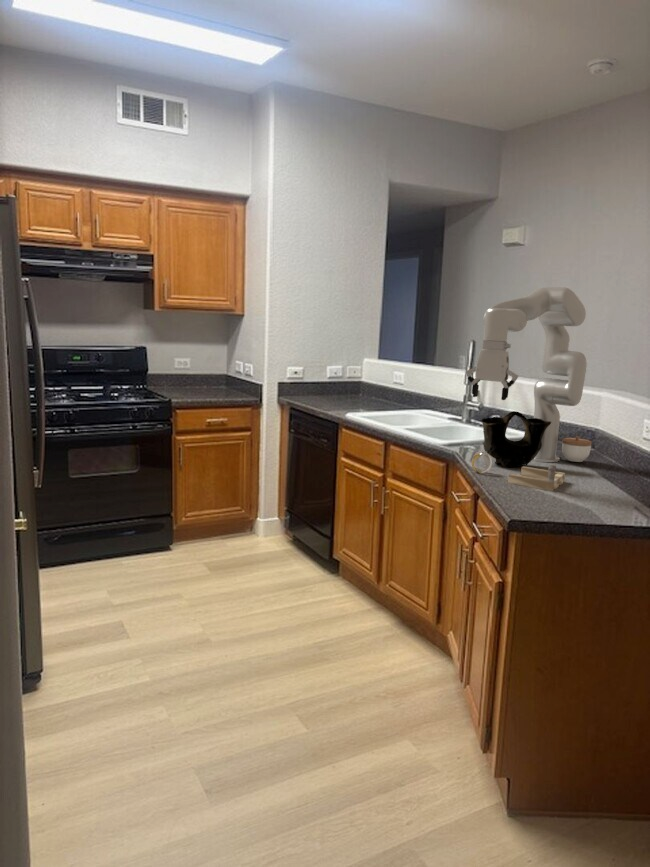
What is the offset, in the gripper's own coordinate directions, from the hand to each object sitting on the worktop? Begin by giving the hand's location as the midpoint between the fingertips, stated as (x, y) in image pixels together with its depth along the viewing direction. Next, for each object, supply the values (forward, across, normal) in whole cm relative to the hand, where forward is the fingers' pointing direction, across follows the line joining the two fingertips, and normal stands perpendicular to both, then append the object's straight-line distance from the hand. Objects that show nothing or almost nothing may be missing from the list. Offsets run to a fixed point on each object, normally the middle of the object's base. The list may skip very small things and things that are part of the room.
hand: (489, 398), depth 216 cm
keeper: (+26, -17, -2) cm, 31 cm away
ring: (+27, +1, -3) cm, 27 cm away
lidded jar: (+26, -21, -49) cm, 59 cm away
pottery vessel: (+26, -4, -23) cm, 35 cm away
